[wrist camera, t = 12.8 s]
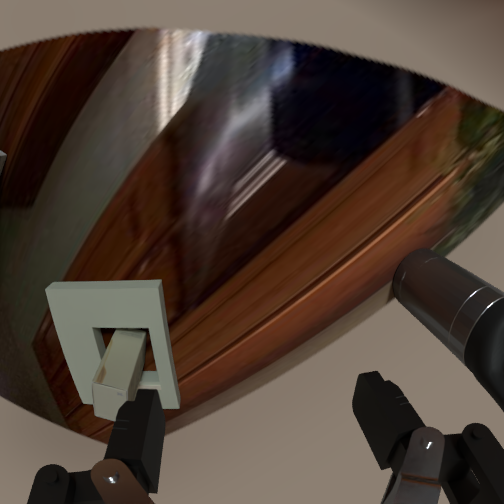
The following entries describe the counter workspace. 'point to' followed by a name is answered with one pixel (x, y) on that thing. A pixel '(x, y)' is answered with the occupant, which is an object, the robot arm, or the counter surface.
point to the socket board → (112, 316)
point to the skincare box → (119, 372)
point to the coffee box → (2, 160)
